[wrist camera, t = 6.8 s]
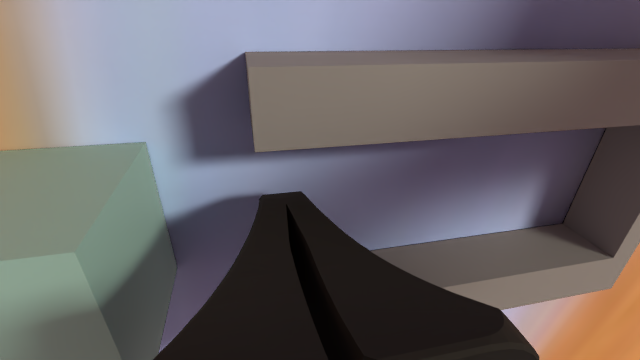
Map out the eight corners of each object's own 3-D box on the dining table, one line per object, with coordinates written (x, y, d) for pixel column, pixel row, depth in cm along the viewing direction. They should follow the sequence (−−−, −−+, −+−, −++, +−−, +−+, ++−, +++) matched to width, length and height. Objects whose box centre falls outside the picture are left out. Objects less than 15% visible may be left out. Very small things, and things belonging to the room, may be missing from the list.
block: (145, 142, 10) (74, 252, 5) (177, 267, 12) (145, 412, 8) (-57, 154, 9) (-338, 300, 4) (21, 288, 11) (-113, 468, 7)
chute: (663, 48, 12) (753, 57, 10) (564, 252, 17) (611, 288, 15) (244, 51, 9) (247, 67, 7) (266, 301, 14) (271, 355, 12)
